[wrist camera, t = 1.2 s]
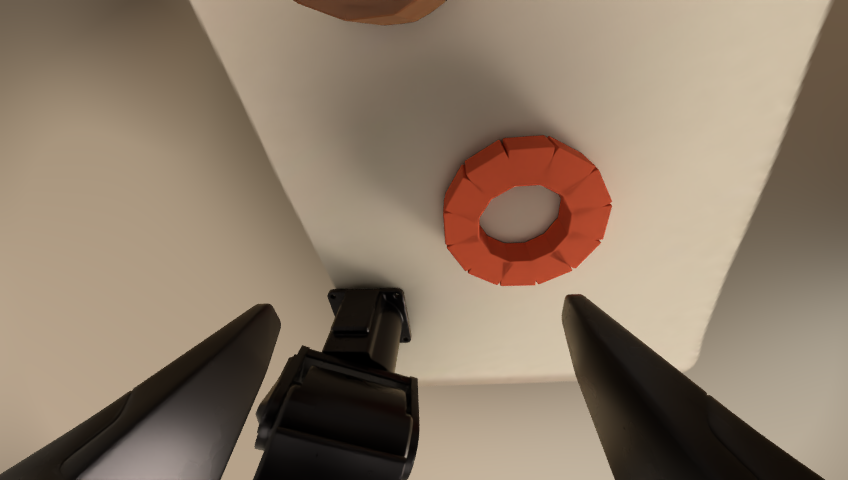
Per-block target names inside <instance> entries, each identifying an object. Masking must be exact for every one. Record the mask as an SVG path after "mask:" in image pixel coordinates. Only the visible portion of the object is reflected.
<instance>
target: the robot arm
mask: <svg viewBox="0 0 848 480" xmlns="http://www.w3.org/2000/svg"><path fill="white" fill-rule="evenodd" d="M397 294H399V295H397ZM334 295H335V296H334ZM328 299H329V302H330V304H331V307H332V310H333V313H334V315H335V319H334V322H333V324H332V327H331V331H330V333H329V336H328V338H327V340H326V343H325V345H324V348H323V350H322V352H319V351H315V350H312V349H310V348H309V347H306V346H303V345H302V347H301V349H300V350H299V352H298V354H297V355H296V354H295V355H294V356H293V357H290V358H289V359H288V361H287V363H286V365H285V367H284V369H283V371H282V373H281V375H280V377H279V378H278V380H277V382H276V383H275V385H274V386H273V387H272V388H271V390H270V391H269V393H268V394H267V395H266V397H265V398H264V400H263V401H262V402H261V403H260V405H259V407H258V409H257V412H256V416H257V419H258V422H259V427H258V431H257V433H258V435H257V439H256V442H255V449H259V450H263V451H264V453H263V455H262V458H261V461H260V463H259V466H258V468H257V471H256V474H255V476H254V479H253V480H407V479H408V477H409V475H410V473H411V470H412V467H413V464H414V460H415V457H416V451H417V447H418V440H419V405H418V379H417V378H415V377H411V376H410V377H407V376H403V375H400V374H396V373H395V367H396V361H397V355H398V349H399V343H407V342H410V341H411V331H410V325H409V319H408V314H407V308H406V303H405V297H404V292H403V290H402V289H399V288H377V289H333V290H330V291H329V293H328ZM562 324H563V328H564V332H565V336H566V340H567V344H568V348H569V352H570V356H571V359H572V363H573V367H574V371H575V374H576V377H577V380H578V383H579V385H580V388H581V391H582V394H583V396H584V399H585V401H586V404H587V407H588V409H589V412H590V415H591V417H592V420H593V422H594V425H595V428H596V431H597V433H598V436H599V439H600V441H601V444H602V446H603V449H604V452H605V454H606V457H607V460H608V462H609V465H610V468H611V470H612V473H613V475H614V478H615V480H825V479H823V478H822V477H821V476H819V475H818V474H816V473H815V472H813V471H812V470H811V469H809V468H808V467H806V466H805V465H803V464H802V463H800V462H799V461H798V460H796V459H795V458H793V457H792V456H790V455H789V454H788V453H786V452H785V451H784V450H782V449H781V448H779V447H778V446H776V445H775V444H774V443H772V442H771V441H770V440H768V439H767V438H765V437H764V436H763V435H761V434H760V433H758V432H757V431H756V430H754V429H753V428H752V427H750V426H749V425H748V424H747V423H745V422H744V421H743V420H741V419H740V418H739V417H737V416H736V415H735V414H733V413H732V412H731V411H730V410H728V409H727V408H726V407H724V406H723V405H722V404H721V403H719V402H718V401H717V400H716V399H714V398H713V397H712V396H710V395H707V393H706V392H705V391H704V390H703V389H701V388H700V387H699V386H698V385H696V384H695V383H694V382H692V381H691V380H690V379H689V378H687V377H686V376H685V375H683V374H682V373H681V372H680V371H679V370H677V369H676V368H675V367H674V366H672V365H671V364H670V363H668V362H667V361H666V360H665V359H663V358H662V357H661V356H660V355H658V354H657V353H656V352H654V351H653V350H652V349H651V348H649V347H648V346H647V345H646V344H644V343H643V342H642V341H641V340H639V339H638V338H637V337H635V336H634V335H633V334H632V333H630V332H629V331H628V330H627V329H625V328H624V327H623V326H622V325H620V324H619V323H618V322H616V321H615V320H614V319H613V318H611V317H610V316H609V315H608V314H606V313H605V312H604V311H602V310H601V309H600V308H599V307H597V306H596V305H595V304H594V303H592V302H591V301H590V300H589V299H587V298H586V297H585V296H583V295H581V294H571V295H567V296H566V297H565V300H564V306H563V311H562ZM280 328H281V323H280V319H279V317H278V316H277V314H276V312H275V310H274V308H273V306H272V305H270V304H257V305H255V306H253V307H252V308H250V309H249V310H248V311H246V312H245V313H243V314H242V315H240V316H239V317H237V318H236V319H234V320H233V321H232V322H230V323H229V324H227V325H226V326H224V327H223V328H221V329H220V330H218V331H217V332H215V333H214V334H213V335H211V336H210V337H208V338H207V339H205V340H204V341H202V342H201V343H199V344H198V345H197V346H195V347H194V348H192V349H191V350H189V351H188V352H186V353H185V354H184V355H182V356H180V357H179V358H177V359H176V360H175V361H173V362H172V363H170V364H169V365H167V366H166V367H164V368H163V369H161V370H160V371H158V372H157V373H156V374H154V375H153V376H151V377H150V378H148V379H147V380H145V381H144V382H142V383H141V384H140V385H138V386H137V387H135V388H134V389H133V390H132V391H129V392H128V393H126V394H125V395H123V396H122V397H121V398H119V399H117V400H116V401H115V402H113V403H112V404H110V405H109V406H107V407H106V408H104V409H103V410H101V411H100V412H98V413H97V414H95V415H94V416H92V417H91V418H89V419H88V420H86V421H85V422H83V423H81V424H80V425H78V426H77V427H75V428H73V429H72V430H70V431H69V432H67V433H66V434H64V435H63V436H61V437H59V438H58V439H56V440H54V441H53V442H51V443H50V444H48V445H46V446H45V447H43V448H42V449H40V450H39V451H37V452H35V453H34V454H32V455H30V456H29V457H27V458H26V459H24V460H22V461H21V462H19V463H18V464H16V465H15V466H13V467H11V468H10V469H8V470H6V471H5V472H3V473H2V474H0V480H220V479H221V477H222V475H223V472H224V470H225V468H226V466H227V463H228V461H229V459H230V456H231V454H232V452H233V449H234V447H235V445H236V442H237V440H238V438H239V435H240V433H241V431H242V428H243V426H244V424H245V421H246V419H247V416H248V414H249V412H250V410H251V407H252V405H253V403H254V400H255V398H256V396H257V394H258V391H259V389H260V387H261V384H262V382H263V379H264V377H265V374H266V372H267V369H268V366H269V363H270V360H271V356H272V353H273V350H274V347H275V344H276V341H277V337H278V335H279V331H280Z"/></svg>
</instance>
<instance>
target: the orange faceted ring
mask: <svg viewBox="0 0 848 480" xmlns="http://www.w3.org/2000/svg"><path fill="white" fill-rule="evenodd" d="M531 185H541V186H543V187H545V188H547V189H550V190H552V191H554V192H556V193H558V194H559V196H560V198H561V202H560V208H559V214H558V218H557V219H556V220H555V221H554V223H553V224H552V225H551V226H550V227H549V229H548V230H547V231H546V232H545V233H544V234H542V235H540V236H538V237H536V238H534V239H532V240H530V241H527V242H525V243H502V242H500V241H498V240H496V239H493V238H491V237H489V236H487V235H486V233H485V232H484V230H483V229H482V228H481V226H480V225H479V218H480V216H481V215H482V213H483V211H484V210H485V208H486V207H487V205H488V204H489V202H490V201H491V199H493V198H495V197H497V196H498V195H500V194H502V193H504V192H506V191H507V190H509V189H511V188H513V187H515V186H531ZM611 202H612V200H611V198H610V195H609V193H608V191H607V188H606V186H605V184H604V181H603V179H602V177H601V174H600V172H599V170H598V169H597V168H596V167H595V165H594V164H593V163H592V162H591V161H590V160H588V159H587V158H586V157H585V156H584V155H583V154H582V153H580V152H578V151H577V150H575V149H573V148H571V147H569V146H567V145H565V144H563V143H562V142H560V141H558V140H556V139H554V138H552V137H550V136H548V137H547V138H546V137H545V136H544V135H540V136H526V137H512V138H504V139H503V145H502V143H501V141H500V140H497V141H496V142H494V143H493V144H491V145H489V146H488V147H486V148H485V149H483V150H481V151H480V152H478V153H477V154H475V155H474V156H472V157H470V158H469V159H467V160H466V161H465V165H463V164H462V165H461V167H460V168H459V170H458V172H457V174H456V176H455V177H454V179H453V181H452V183H451V185H450V186H449V188H448V190H447V192H446V194H445V198H444V211H443V216H444V231H445V244H446V245H447V249H448V250H449V251H450V252H451V254H452V255H453V256H454V257H455V259H456V260H457V261H458V262H459V264H460V265H461V266H462V267H463V269H464V270H465V271H467V270H468V273H469V274H471V275H474V276H476V277H479V278H481V279H484V280H486V281H488V282H491V283H493V284H496V285H498V284H499V282H500V285H501V286H519V285H535V282H537V283H538V284H541V283H543V282H546V281H548V280H551V279H553V278H556V277H558V276H560V275H563V274H565V273H568V272H570V271H572V269H571V267H573V268H576V267H577V266H578V265H579V264H580V263H581V262H582V261H583V260H584V259H585V258H586V257H587V256H588V255H589V254H590V253H591V252H592V251H593V250H594V249H595V248H596V247H597V246H598V245H599V244H600V243H601V242H600V241H599V240H601V239H603V237H604V233H605V230H606V226H607V223H608V219H609V215H610V212H611V208H612V205H611V204H610V203H611ZM570 266H571V267H570Z"/></svg>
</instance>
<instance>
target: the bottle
mask: <svg viewBox="0 0 848 480" xmlns="http://www.w3.org/2000/svg"><path fill="white" fill-rule="evenodd" d="M294 1H295V2H297V3H298V4H301V5H303V6H306V7H309V8H312V9H314V10H317V11H320V12H323V13H325V14H328V15H331V16H333V17H336V18H339V19H342V20H344V21H352V22H360V23H369V24H377V25H392V24H403V23H409V22H415V21H418V20H419V19H421V18H422V17H424V16H426V15H428V14H429V13H431V12H433V11H434V10H435V9H436V8H438V7H439V6H440V5H442V4H443V3H445V1H447V0H294Z"/></svg>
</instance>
